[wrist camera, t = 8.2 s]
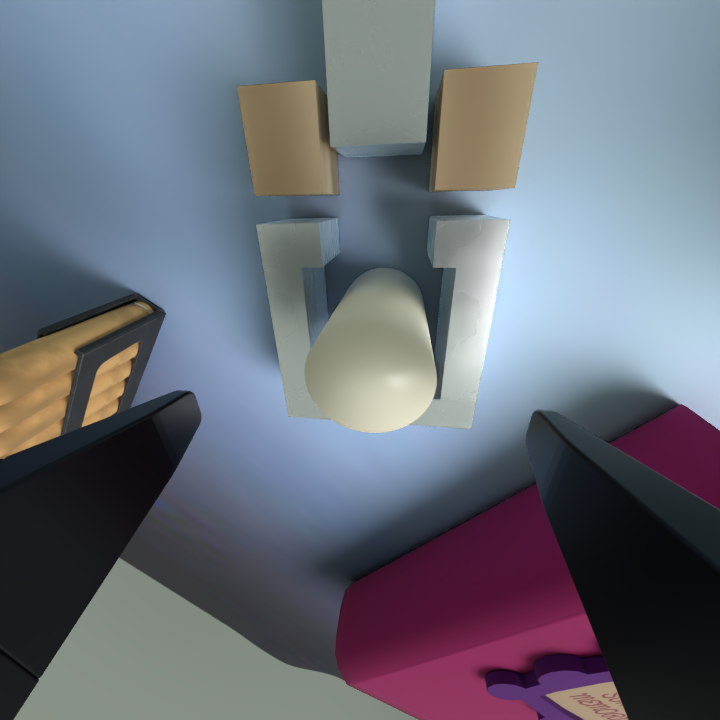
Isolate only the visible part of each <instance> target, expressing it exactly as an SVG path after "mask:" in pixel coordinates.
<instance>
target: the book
mask: <svg viewBox="0 0 720 720" xmlns="http://www.w3.org/2000/svg"><path fill="white" fill-rule="evenodd" d="M609 444H610V445H612V446H614V447H615V448H617V449H619V450H620V451H622V452H624V453H625V454H627V455H629V456H630V457H632V458H634V459H635V460H637V461H639V462H641V463H642V464H644V465H646V466H647V467H649V468H651V469H652V470H654V471H656V472H657V473H659V474H661V475H662V476H664V477H666V478H667V479H669V480H671V481H672V482H674V483H676V484H677V485H679V486H681V487H682V488H684V489H686V490H687V491H689V492H691V493H692V494H694V495H696V496H697V497H699V498H701V499H702V500H704V501H706V502H707V503H709V504H711V505H712V506H714V507H716V508H717V509H719V510H720V431H719V430H718V429H717V428H715V427H714V426H713V425H711V424H710V423H708V422H707V421H706V420H704V419H703V418H701V417H700V416H699V415H697V414H696V413H694V412H693V411H692V410H690V409H689V408H687V407H686V406H684V405H681V404H680V405H678V406H677V407H675V408H673V409H671V410H669V411H667V412H666V413H664V414H662V415H660V416H658V417H656V418H655V419H653V420H651V421H649V422H647V423H645V424H644V425H642V426H640V427H638V428H636V429H634V430H633V431H631V432H629V433H627V434H625V435H623V436H622V437H620V438H618V439H616V440H614V441H612V442H611V443H609ZM335 655H336V659H337V664H338V668H339V671H340V673H341V675H342V676H343V678H344V680H345V682H346V684H347V685H349V686H351V687H353V688H355V689H357V690H359V691H361V692H363V693H366V694H368V695H369V696H372V697H374V698H376V699H378V700H380V701H382V702H384V703H386V704H388V705H390V706H392V707H394V708H396V709H398V710H400V711H402V712H404V713H406V714H409V715H410V716H413V717H415V718H417V719H419V720H628V717H627V715H626V712H625V710H624V707H623V705H622V702H621V700H620V697H619V695H618V692H617V690H616V687H615V685H614V682H613V680H612V677H611V675H610V672H609V670H608V667H607V665H606V662H605V660H604V657H603V655H602V652H601V650H600V647H599V645H598V642H597V640H596V637H595V635H594V632H593V630H592V627H591V625H590V622H589V620H588V617H587V615H586V612H585V610H584V607H583V605H582V602H581V600H580V597H579V595H578V592H577V590H576V587H575V585H574V582H573V580H572V577H571V575H570V572H569V570H568V567H567V565H566V562H565V560H564V557H563V555H562V552H561V550H560V547H559V544H558V542H557V539H556V537H555V534H554V532H553V529H552V527H551V524H550V522H549V519H548V517H547V514H546V512H545V509H544V506H543V504H542V500H541V497H540V494H539V490H538V486H537V483H535V484H533V485H532V486H530V487H528V488H526V489H524V490H522V491H521V492H519V493H517V494H515V495H513V496H511V497H510V498H508V499H506V500H504V501H502V502H500V503H499V504H497V505H495V506H493V507H491V508H489V509H488V510H486V511H484V512H482V513H480V514H478V515H477V516H475V517H473V518H471V519H469V520H467V521H466V522H464V523H462V524H460V525H458V526H456V527H455V528H453V529H451V530H449V531H447V532H445V533H444V534H442V535H440V536H438V537H436V538H434V539H433V540H431V541H429V542H427V543H425V544H423V545H422V546H420V547H418V548H416V549H414V550H412V551H411V552H409V553H407V554H405V555H403V556H401V557H400V558H398V559H396V560H394V561H392V562H390V563H389V564H387V565H385V566H383V567H381V568H379V569H378V570H376V571H374V572H372V573H370V574H368V575H367V576H365V577H363V578H361V579H359V580H357V581H356V582H354V583H352V584H351V585H350V586H349V587H348V588H347V589H346V590H345V593H344V597H343V601H342V605H341V609H340V615H339V622H338V628H337V634H336V650H335Z"/></svg>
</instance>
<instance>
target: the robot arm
mask: <svg viewBox="0 0 720 720" xmlns="http://www.w3.org/2000/svg"><path fill="white" fill-rule="evenodd" d="M200 423H201V412H200V409H199V406H198V403H197V400H196V397H195V395H194V393H193V392H191V391H181V390H178V391H174V392H171V393H169V394H166V395H164V396H161V397H158V398H156V399H153V400H151V401H148V402H146V403H143V404H140V405H138V406H135V407H133V408H130V409H127V410H125V411H122V412H120V413H117V414H115V415H112V416H109V417H107V418H104V419H102V420H99V421H97V422H94V423H91V424H89V425H86V426H84V427H81V428H79V429H76V430H73V431H71V432H68V433H66V434H63V435H61V436H58V437H55V438H53V439H50V440H48V441H45V442H43V443H40V444H37V445H35V446H32V447H30V448H27V449H25V450H22V451H19V452H17V453H14V454H12V455H9V456H7V457H6V458H4V459H0V720H14V718H15V717H16V715H17V713H18V712H19V710H20V709H21V707H22V706H23V704H24V703H25V701H26V700H27V698H28V697H29V695H30V693H31V692H32V690H33V689H34V687H35V686H36V684H37V683H38V681H39V679H38V678H40V677H41V676H42V675H43V673H44V671H45V670H46V668H47V667H48V665H49V664H50V662H51V661H52V659H53V658H54V656H55V655H56V653H57V651H58V650H59V648H60V647H61V645H62V644H63V642H64V641H65V639H66V638H67V636H68V635H69V633H70V632H71V630H72V628H73V627H74V625H75V624H76V622H77V621H78V619H79V618H80V616H81V615H82V613H83V612H84V610H85V609H86V607H87V605H88V604H89V602H90V601H91V599H92V598H93V596H94V595H95V593H96V592H97V590H98V589H99V587H100V586H101V584H102V583H103V581H104V579H105V578H106V576H107V575H108V573H109V572H110V570H111V569H112V567H113V565H114V564H115V563H116V561H117V559H118V558H119V556H120V555H121V553H122V552H123V550H124V549H125V547H126V546H127V544H128V543H129V541H130V540H131V538H132V537H133V535H134V533H135V532H136V530H137V529H138V527H139V526H140V524H141V523H142V521H143V520H144V518H145V517H146V515H147V514H148V512H149V510H150V509H151V507H152V506H153V504H154V503H155V501H156V500H157V498H158V497H159V495H160V494H161V492H162V491H163V489H164V487H165V486H166V484H167V483H168V481H169V480H170V478H171V477H172V475H173V473H174V472H175V470H176V468H177V466H178V465H179V463H180V461H181V459H182V457H183V455H184V453H185V451H186V450H187V448H188V446H189V444H190V442H191V440H192V438H193V436H194V434H195V432H196V431H197V429H198V427H199V425H200ZM526 446H527V450H528V454H529V457H530V461H531V465H532V468H533V472H534V476H535V479H536V483H537V486H538V490H539V494H540V497H541V500H542V504H543V506H544V509H545V512H546V514H547V517H548V519H549V522H550V524H551V527H552V529H553V532H554V534H555V537H556V539H557V542H558V544H559V547H560V550H561V552H562V555H563V557H564V560H565V562H566V565H567V567H568V570H569V572H570V575H571V577H572V580H573V582H574V585H575V587H576V590H577V592H578V595H579V597H580V600H581V602H582V605H583V607H584V610H585V612H586V615H587V617H588V620H589V622H590V625H591V627H592V630H593V632H594V635H595V637H596V640H597V642H598V645H599V647H600V650H601V652H602V655H603V657H604V660H605V662H606V665H607V667H608V670H609V672H610V675H611V677H612V680H613V682H614V685H615V687H616V690H617V692H618V695H619V697H620V700H621V702H622V705H623V707H624V710H625V712H626V715H627V717H628V720H720V510H719V509H717V508H716V507H714V506H712V505H711V504H709V503H707V502H706V501H704V500H702V499H701V498H699V497H697V496H696V495H694V494H692V493H691V492H689V491H687V490H686V489H684V488H682V487H681V486H679V485H677V484H676V483H674V482H672V481H671V480H669V479H667V478H666V477H664V476H662V475H661V474H659V473H657V472H656V471H654V470H652V469H651V468H649V467H647V466H646V465H644V464H642V463H641V462H639V461H637V460H635V459H634V458H632V457H630V456H629V455H627V454H625V453H624V452H622V451H620V450H619V449H617V448H615V447H614V446H612V445H610V444H609V443H607V442H605V441H604V440H602V439H600V438H599V437H597V436H595V435H594V434H592V433H590V432H589V431H587V430H585V429H584V428H582V427H580V426H579V425H577V424H575V423H574V422H572V421H570V420H569V419H567V418H565V417H564V416H562V415H560V414H559V413H557V412H555V411H550V410H536V411H534V413H533V415H532V417H531V421H530V424H529V428H528V431H527V434H526Z"/></svg>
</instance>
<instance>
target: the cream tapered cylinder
mask: <svg viewBox="0 0 720 720" xmlns="http://www.w3.org/2000/svg"><path fill="white" fill-rule="evenodd" d="M304 373H305V382H306V386H307V389H308V392H309V394H310V396H311V398H312V400H313V401H314V403H315V404H316V406H317V407H318V408H319V409H320V410H321V411H322V412H323V413H324V414H325V415H326V416H327V417H329V418H330V419H331V420H333V421H334V422H336V423H338V424H340V425H342V426H344V427H346V428H349V429H352V430H356V431H360V432H367V433H382V432H389V431H394V430H397V429H400V428H402V427H405V426H407V425H409V424H410V423H412V422H414V421H415V420H416V419H418V418H419V417H420V416H421V415H422V414H423V413H424V412H425V411H426V409H427V408H428V407H429V405H430V403H431V402H432V400H433V397H434V394H435V391H436V385H437V374H436V367H435V362H434V356H433V351H432V345H431V340H430V334H429V329H428V323H427V318H426V312H425V307H424V301H423V297H422V293H421V291H420V289H419V287H418V286H417V284H416V283H415V282H414V280H413V279H411V278H410V277H409V276H408V275H406V274H405V273H403V272H401V271H399V270H396V269H392V268H376V269H372V270H369V271H366V272H365V273H363V274H361V275H360V276H358V277H357V278H356V279H355V280H354V281H353V282H352V284H351V285H350V287H349V288H348V290H347V292H346V293H345V295H344V296H343V298H342V299H341V301H340V303H339V304H338V306H337V307H336V309H335V311H334V312H333V314H332V315H331V317H330V319H329V320H328V322H327V323H326V325H325V327H324V328H323V330H322V331H321V333H320V334H319V336H318V338H317V339H316V341H315V342H314V344H313V346H312V347H311V349H310V351H309V353H308V355H307V358H306V362H305V370H304Z"/></svg>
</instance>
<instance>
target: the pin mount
mask: <svg viewBox="0 0 720 720" xmlns="http://www.w3.org/2000/svg"><path fill="white" fill-rule="evenodd" d="M537 65H538V62H535V63H523V64H510V65H497V66H485V67H472V68H460V69H447V70H444V73H443V76H442V80H441V83H440V86H439V89H438V93H437V96H436V99H435V111H434V125H433V139H432V154H431V168H430V182H429V192H447V191H480V190H498V189H508V188H515V184H516V178H517V173H518V168H519V162H520V157H521V151H522V146H523V141H524V135H525V130H526V124H527V119H528V114H529V108H530V103H531V97H532V92H533V87H534V81H535V76H536V71H537ZM237 91H238V98H239V104H240V110H241V116H242V122H243V128H244V134H245V140H246V146H247V152H248V159H249V165H250V171H251V177H252V183H253V189H254V195H255V196H314V195H339V178H338V158H337V151H336V150H334V149H333V148H331V147H330V132H329V114H328V97H327V95H326V94H325V93H324V91H323V90H322V89H321V87H320V86H319V85H318V84H317V82H316V81H315V80H308V81H296V82H283V83H270V84H258V85H245V86H237Z"/></svg>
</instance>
